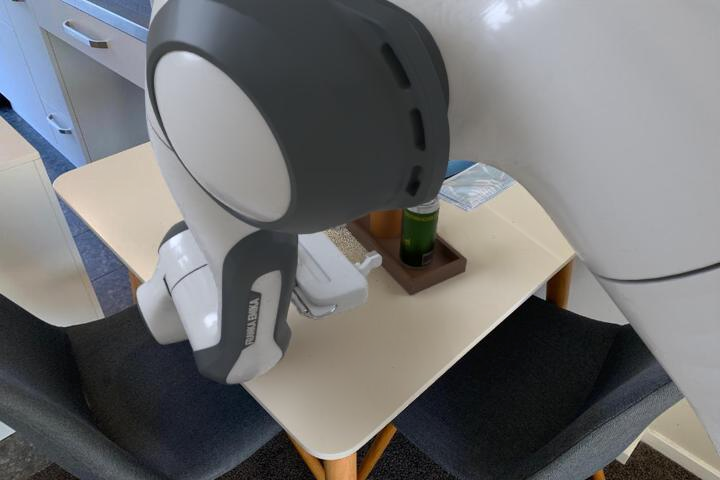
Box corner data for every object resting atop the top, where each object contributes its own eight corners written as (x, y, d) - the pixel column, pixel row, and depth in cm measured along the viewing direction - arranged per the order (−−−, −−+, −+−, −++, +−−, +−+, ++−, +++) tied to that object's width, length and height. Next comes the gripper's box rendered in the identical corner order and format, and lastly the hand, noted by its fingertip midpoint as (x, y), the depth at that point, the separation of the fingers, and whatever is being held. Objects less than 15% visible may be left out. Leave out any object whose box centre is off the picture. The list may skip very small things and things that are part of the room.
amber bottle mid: (406, 233, 89) (412, 161, 80) (380, 242, 87) (384, 170, 78) (389, 217, 92) (393, 146, 83) (364, 226, 90) (365, 155, 81)
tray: (465, 271, 82) (467, 259, 80) (410, 295, 78) (411, 283, 76) (365, 183, 102) (365, 172, 100) (317, 198, 97) (316, 187, 96)
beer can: (439, 259, 84) (448, 196, 76) (419, 275, 80) (426, 212, 73) (412, 244, 86) (418, 183, 79) (391, 260, 83) (396, 197, 76)
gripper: (305, 304, 59) (404, 263, 65) (238, 213, 73) (326, 185, 78) (307, 341, 63) (401, 299, 69) (244, 248, 77) (327, 219, 82)
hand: (360, 238), depth 74 cm, fingers open, 8 cm apart
